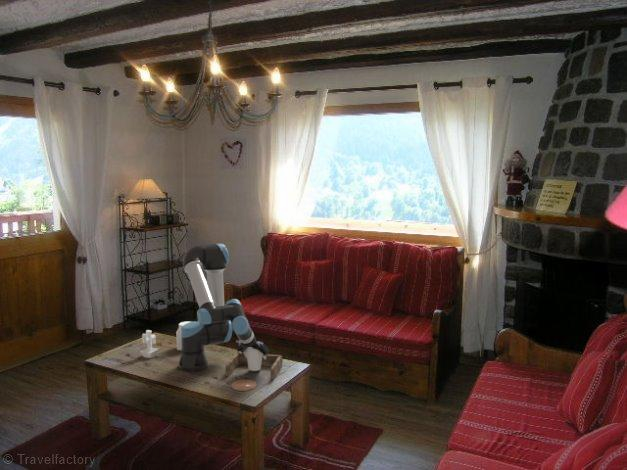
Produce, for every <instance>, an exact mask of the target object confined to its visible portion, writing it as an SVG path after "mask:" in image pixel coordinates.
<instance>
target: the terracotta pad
mask: <svg viewBox="0 0 627 470" xmlns="http://www.w3.org/2000/svg"><path fill="white" fill-rule="evenodd" d="M256 387H257V382H256V381H255V380H253V379H249V378H248V379H247V378H244V379H237V380H235V381H233V382H232V383H231V389H233V391H234V390H235V391H238V392H239V391H240V392H249V391H251V390H253V389H255V388H256Z"/></svg>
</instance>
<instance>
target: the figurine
mask: <svg viewBox="0 0 627 470" xmlns="http://www.w3.org/2000/svg"><path fill="white" fill-rule="evenodd" d="M152 332H153V331H152V330H150V329H146V330H145V333H142V335H141V339H142V340H141V341H142V344H146V348H144V349H142V350H140V354H141V355H142V357H143V358H145V359H146V358H147V359H151V358H154V357H156V356H157V353H158V352H159V350H160V348H157V347H153V344H154V345H155V344H156V343H157V340H156V335H155V334H152Z"/></svg>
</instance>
